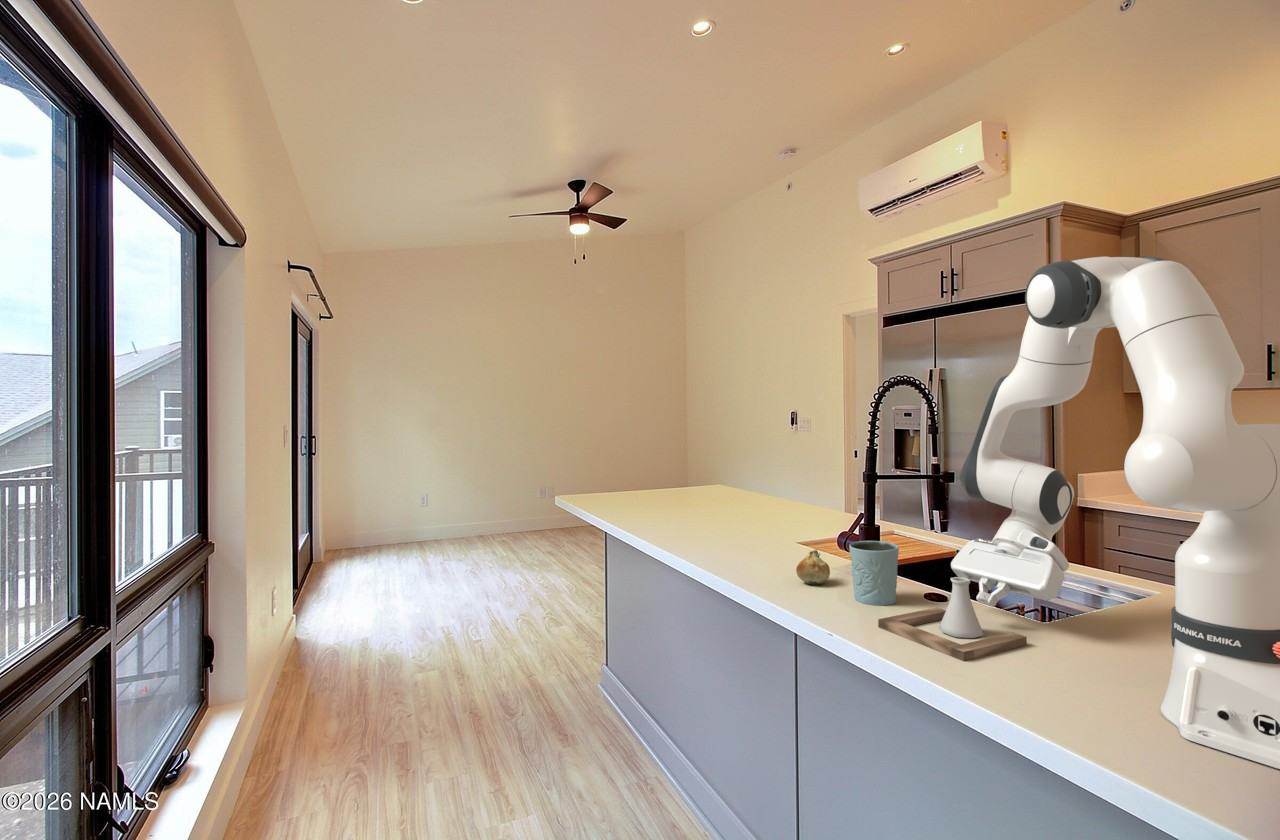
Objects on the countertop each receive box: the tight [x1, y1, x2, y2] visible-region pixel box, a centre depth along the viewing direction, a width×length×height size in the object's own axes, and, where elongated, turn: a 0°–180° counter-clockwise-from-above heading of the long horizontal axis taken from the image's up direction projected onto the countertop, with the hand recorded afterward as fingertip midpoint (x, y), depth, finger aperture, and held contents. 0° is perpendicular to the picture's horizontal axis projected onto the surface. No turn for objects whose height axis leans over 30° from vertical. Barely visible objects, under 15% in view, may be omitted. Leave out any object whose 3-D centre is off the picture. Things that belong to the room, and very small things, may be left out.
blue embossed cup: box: [848, 540, 900, 607], centre depth 142 cm, size 10×10×12 cm
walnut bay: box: [877, 607, 1028, 662], centre depth 120 cm, size 19×16×2 cm
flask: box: [938, 576, 985, 639], centre depth 121 cm, size 7×7×10 cm
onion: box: [795, 549, 831, 586], centre depth 157 cm, size 8×8×8 cm
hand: (984, 603), depth 124 cm, fingers closed
